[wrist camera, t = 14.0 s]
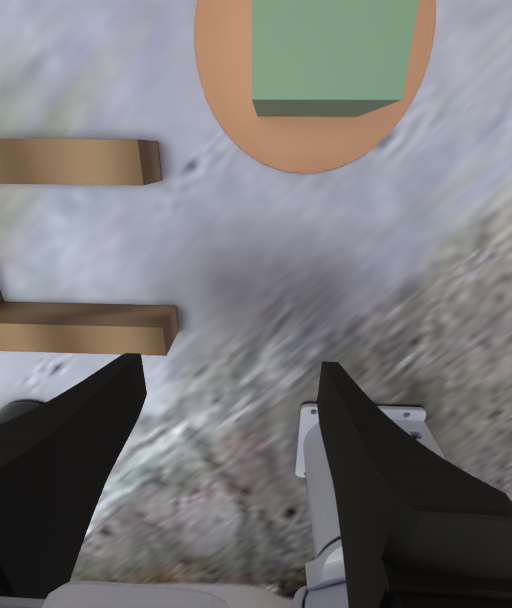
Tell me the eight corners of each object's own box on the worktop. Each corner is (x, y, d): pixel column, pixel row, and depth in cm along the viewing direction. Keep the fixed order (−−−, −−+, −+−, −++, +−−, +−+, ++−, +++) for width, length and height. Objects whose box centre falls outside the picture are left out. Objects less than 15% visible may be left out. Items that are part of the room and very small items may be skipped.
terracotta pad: (456, -117, 13) (466, -133, 12) (401, 173, 18) (407, 174, 17) (188, -113, 14) (184, -128, 13) (204, 171, 18) (202, 172, 18)
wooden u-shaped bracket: (157, 141, 18) (137, 139, 15) (178, 331, 23) (166, 355, 20) (-90, 139, 18) (-153, 137, 15) (-15, 326, 23) (-52, 349, 21)
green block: (373, -16, 14) (440, -121, 9) (357, 116, 16) (401, 99, 11) (258, -15, 14) (251, -118, 9) (257, 116, 16) (251, 99, 11)
